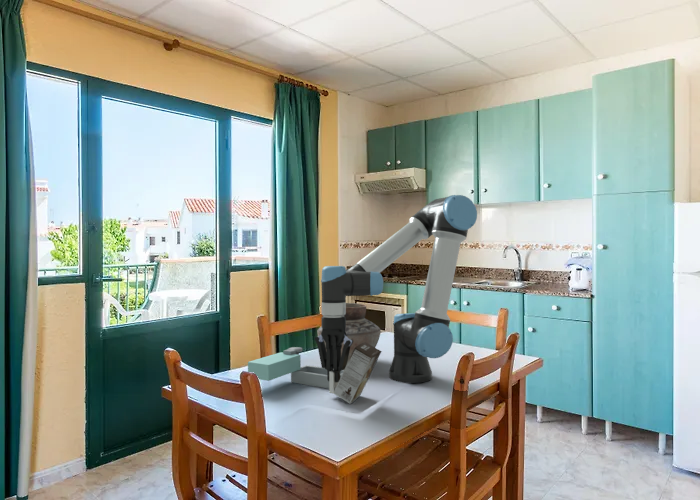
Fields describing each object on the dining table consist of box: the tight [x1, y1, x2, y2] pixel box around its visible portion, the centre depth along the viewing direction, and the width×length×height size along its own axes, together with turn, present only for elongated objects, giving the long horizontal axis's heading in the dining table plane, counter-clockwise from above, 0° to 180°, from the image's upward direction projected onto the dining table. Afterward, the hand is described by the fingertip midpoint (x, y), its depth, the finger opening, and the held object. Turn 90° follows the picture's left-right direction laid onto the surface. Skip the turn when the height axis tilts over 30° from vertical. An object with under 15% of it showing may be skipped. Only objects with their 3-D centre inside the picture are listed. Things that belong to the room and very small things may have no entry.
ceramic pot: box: [317, 302, 382, 363], centre depth 189 cm, size 25×25×24 cm
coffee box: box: [334, 342, 383, 405], centre depth 144 cm, size 9×6×16 cm
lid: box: [247, 346, 303, 382], centre depth 162 cm, size 22×9×6 cm, turn 149°
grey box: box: [290, 352, 345, 390], centre depth 165 cm, size 21×9×10 cm, turn 59°
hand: (333, 392), depth 148 cm, fingers closed
